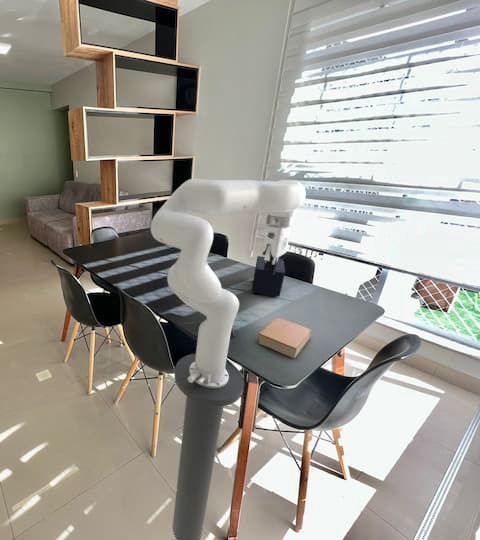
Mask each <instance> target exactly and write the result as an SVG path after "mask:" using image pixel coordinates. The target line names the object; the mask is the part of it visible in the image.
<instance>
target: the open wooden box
mask: <svg viewBox="0 0 480 540" xmlns="http://www.w3.org/2000/svg"><path fill="white" fill-rule="evenodd" d="M311 333H312V331H311V332H310V333H309V334H308V335H307V337H306V338H305V339H304V341H303V342H302V343H301V344H300V346H299V347H298V348H297V349H296V350H295V349H293V348H290V347H288V346H285V345H283V344H281V343H278V342H276V341H273V340H271V339H269V338H266V337H264V336H261V335H259V338H258V341H257V343H258V344H260V345H262V346H264V347H267V348H269V349H271V350H273V351H276V352H278V353H280V354H282V355H285V356H287V357H289V358H292V359H295V358H296V357H297V356H298V354H299V353H300V352H301V351H302V349H303V348H304V346H305V345H306V344H307V343H308V341H309V340H310V337H311Z"/></svg>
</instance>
